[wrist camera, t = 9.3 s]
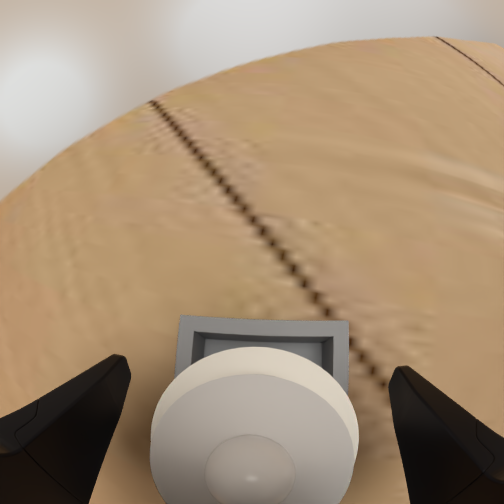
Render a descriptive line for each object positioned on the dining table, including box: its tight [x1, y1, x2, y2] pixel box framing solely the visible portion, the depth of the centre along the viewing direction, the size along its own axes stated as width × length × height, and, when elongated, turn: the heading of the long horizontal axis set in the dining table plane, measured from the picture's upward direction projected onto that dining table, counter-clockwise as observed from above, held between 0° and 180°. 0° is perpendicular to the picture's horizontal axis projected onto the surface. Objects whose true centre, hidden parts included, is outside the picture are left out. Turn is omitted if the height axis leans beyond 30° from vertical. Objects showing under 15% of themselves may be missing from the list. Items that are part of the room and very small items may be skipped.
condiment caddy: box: [174, 315, 349, 396], centre depth 13 cm, size 16×9×4 cm, turn 177°
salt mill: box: [150, 347, 359, 504], centre depth 9 cm, size 5×5×14 cm
